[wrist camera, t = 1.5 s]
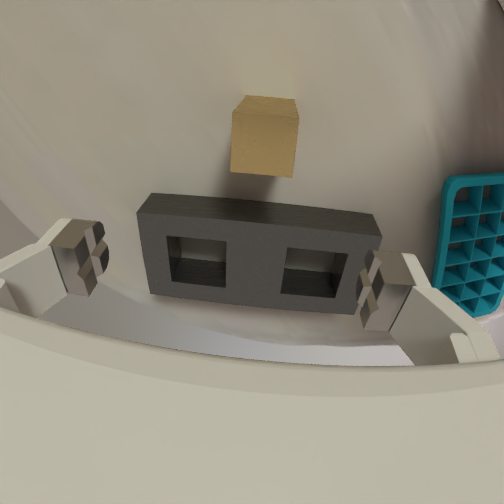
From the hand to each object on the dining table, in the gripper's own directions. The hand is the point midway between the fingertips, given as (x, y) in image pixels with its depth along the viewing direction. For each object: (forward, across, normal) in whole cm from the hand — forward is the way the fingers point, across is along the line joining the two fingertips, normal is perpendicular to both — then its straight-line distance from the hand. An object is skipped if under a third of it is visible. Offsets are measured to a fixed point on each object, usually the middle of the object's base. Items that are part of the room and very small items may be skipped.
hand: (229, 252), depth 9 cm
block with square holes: (+20, -1, +13) cm, 24 cm away
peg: (+20, -1, 0) cm, 20 cm away
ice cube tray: (+20, -26, +10) cm, 34 cm away
